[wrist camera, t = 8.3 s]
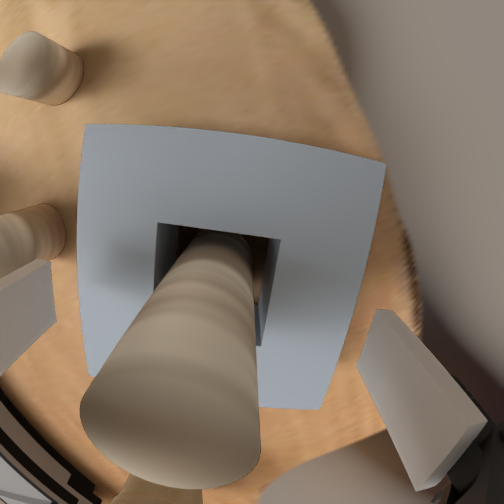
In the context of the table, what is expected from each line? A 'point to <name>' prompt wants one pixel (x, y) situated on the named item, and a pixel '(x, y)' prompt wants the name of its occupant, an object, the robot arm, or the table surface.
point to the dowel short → (40, 70)
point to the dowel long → (185, 375)
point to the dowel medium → (30, 237)
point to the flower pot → (155, 493)
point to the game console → (35, 466)
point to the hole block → (229, 220)
